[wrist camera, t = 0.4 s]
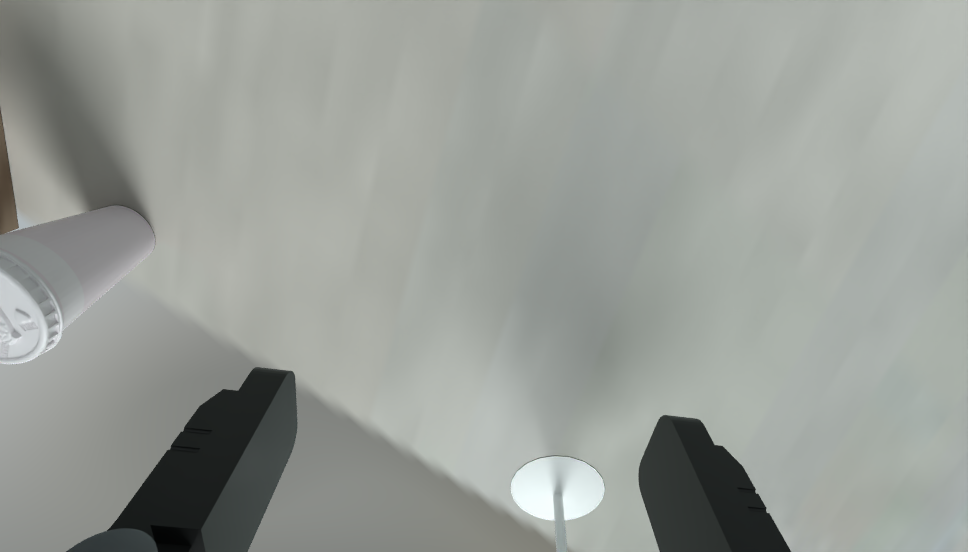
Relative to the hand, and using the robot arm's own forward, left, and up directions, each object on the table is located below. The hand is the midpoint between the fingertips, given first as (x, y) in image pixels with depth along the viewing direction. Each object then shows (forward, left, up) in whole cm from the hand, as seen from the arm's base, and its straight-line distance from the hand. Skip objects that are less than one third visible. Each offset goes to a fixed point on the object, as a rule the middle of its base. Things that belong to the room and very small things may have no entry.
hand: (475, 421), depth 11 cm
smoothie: (+11, -22, -20) cm, 31 cm away
